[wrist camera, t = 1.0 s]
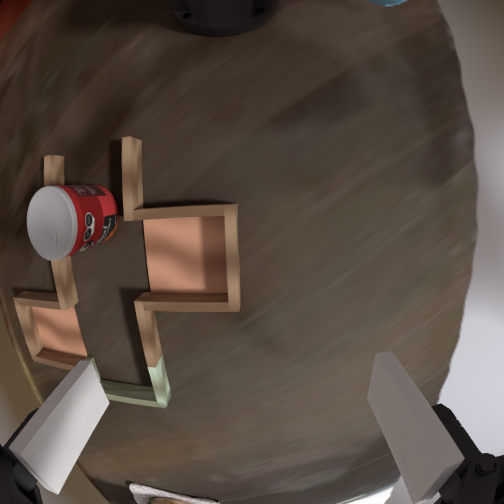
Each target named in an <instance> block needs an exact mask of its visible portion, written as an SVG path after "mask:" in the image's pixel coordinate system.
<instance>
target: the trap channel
mask: <svg viewBox="0 0 504 504" xmlns="http://www.w3.org/2000/svg"><path fill="white" fill-rule="evenodd" d="M53 185H64V156H55V155H48V156H44V187H46V186H53ZM122 188H123V208H124V221H134V220H143V222H144V235H145V246H146V256H147V265H148V274H149V282H150V289H151V292H143V293H142V294H141V295H140V296H139V297H138V298H137V299H136V300H135V301H134V304H135V309H136V315H137V320H138V325H139V330H140V335H141V340H142V344H143V349H144V353H145V358H146V362H147V366H148V370H149V374H150V378H151V381H152V385H153V387H146V386H139V385H131V384H124V383H118V382H112V381H106V380H101V378H100V376H99V373H98V370H97V367H96V364H95V361H94V358H93V357H90V356H88V355H87V352H86V349H85V346H84V342H83V339H82V335H81V332H80V328H79V324H78V320H77V316H76V312H75V308H74V305H75V304H76V303H78V297H77V292H76V287H75V282H74V276H73V270H72V264H71V258H70V256H68V257H66V258H63V259H61V260H56V261H51V264H52V270H53V275H54V281H55V286H56V290H57V293H45V292H32V291H24V292H22V293H20V294H18V295H16V296H15V297H13V299H14V303H15V307H16V310H17V314H18V317H19V321H20V324H21V327H22V330H23V333H24V336H25V339H26V342H27V345H28V348H29V351H30V353H31V356H32V359H33V361H36V362H39V363H43V364H46V365H50V366H54V367H58V368H62V369H66V370H70V371H71V370H72V369H73V368H74V367H75V366H76V365H77V363H78V362H79V361H80V360H81V361H88V362H92V364H93V366H94V369H95V371H96V374H97V376H98V379H99V381H100V383H101V386H102V388H103V390H104V392H105V395H106V397H107V399H110V400H115V401H121V402H127V403H132V404H139V405H146V406H153V407H161V408H166V407H167V405H168V402H169V399H170V397H171V391H170V387H169V382H168V378H167V374H166V369H165V365H164V360H163V355H162V350H161V345H160V340H159V334H158V329H157V323H156V317H155V311H181V312H239V310H240V302H241V298H240V274H239V247H238V218H237V203H228V204H204V205H185V206H169V207H154V208H143V187H142V141H141V140H139V139H136V138H134V137H131V136H130V137H124V138H122Z"/></svg>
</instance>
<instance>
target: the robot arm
mask: <svg viewBox="0 0 504 504" xmlns="http://www.w3.org/2000/svg"><path fill="white" fill-rule="evenodd" d="M278 1H279V0H170V3H171V8H172V11H173V13H174V15H175V17H176V19H177V21H178V22H179V23H180V24H181V25H182V26H183V27H184V28H186V29H188V30H190V31H192V32H195V33H198V34H202V35H208V36H229V35H235V34H240V33H244V32H247V31H250V30H252V29H255V28H257V27H259V26H260V25H262V24H264V23H265V22H266V21H268V20H269V19H270V18H271V17H272V16H273V14H274V13H275V11H276V9H277V6H278ZM367 1H369V2H372V3H374V4H377V5H380V6H393V5H398V4H401V3H403V2H405V1H407V0H367ZM367 400H368V402H369V404H370V406H371V408H372V410H373V412H374V415H375V417H376V419H377V421H378V423H379V425H380V428H381V430H382V432H383V434H384V436H385V439H386V441H387V443H388V445H389V448H390V450H391V452H392V454H393V457H394V459H395V461H396V464H397V466H398V468H399V471H400V473H401V475H402V478H403V480H404V483H405V485H406V487H407V490H408V492H409V495H410V497H411V500H412V502H413V504H420V503H422V502H424V501H427V500H429V499H431V498H433V496H434V495H435V494H436V493H437V492H438V491H439V493H440V495H441V497H440V498H439V499H438V500H437V501H436V502H435V503H434V504H504V455H502V456H498V457H495V456H494V455H492V454H488V453H481V452H480V451H479V450H478V448H477V446H476V445H475V444H474V442H473V441H472V439H471V438H470V436H469V435H468V433H467V432H466V431H465V429H464V428H463V427H462V426H461V424H460V423H459V421H458V420H457V419H456V417H455V415H454V414H453V413H452V411H451V410H450V409H449V408H447V407H446V406H444V405H443V404H437V405H434V406H432V407H431V406H430V405H429V403H428V402H427V400H426V399H425V397H424V396H423V394H422V393H421V392H420V390H419V389H418V387H417V386H416V385H415V383H414V382H413V380H412V379H411V378H410V376H409V375H408V373H407V372H406V371H405V369H404V368H403V367H402V365H401V364H400V362H399V361H398V360H397V358H396V357H395V356H394V354H393V353H392V352H391V351H386V352H381V353H376V354H375V360H374V366H373V371H372V376H371V381H370V386H369V391H368V395H367ZM108 405H109V401H108V399H107V397H106V395H105V392H104V390H103V388H102V386H101V383H100V381H99V379H98V376H97V374H96V371H95V369H94V366H93V364H92V362H88V361H81V360H80V361H79V362H78V363H77V365H76V366H75V367H74V368H73V369H72V370H71V371H70V373H69V374H68V375H67V376H66V377H65V378H64V379H63V381H62V382H61V383H60V384H59V385H58V387H57V388H56V389H55V390H54V391H53V392H52V394H51V395H50V396H49V397H48V398H47V400H46V401H45V402H44V403H43V404H42V406H41V407H40V408H37V409H36V410H34V411H33V412H31V413H30V414H29V415H28V416H27V418H26V419H25V420H24V422H22V424H21V425H20V427H18V429H17V430H16V431H15V432H14V434H13V435H12V436H11V438H10V439H9V440H8V442H7V443H6V444H5V445H4V446H3V447H2V446H1V444H0V504H43V502H42V498H41V494H40V490H39V488H38V486H37V485H36V483H37V481H39V482H40V483H41V484H42V485H43V486H44V487H45V488H46V489H48V490H50V491H52V492H54V493H56V494H59V492H60V490H61V488H62V486H63V484H64V482H65V480H66V479H67V477H68V475H69V473H70V471H71V469H72V468H73V466H74V464H75V462H76V460H77V458H78V457H79V455H80V453H81V451H82V450H83V448H84V446H85V444H86V442H87V441H88V439H89V437H90V435H91V434H92V432H93V430H94V429H95V427H96V425H97V423H98V422H99V420H100V418H101V417H102V415H103V413H104V411H105V410H106V408H107V406H108Z"/></svg>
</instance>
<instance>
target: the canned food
mask: <svg viewBox="0 0 504 504" xmlns="http://www.w3.org/2000/svg"><path fill="white" fill-rule="evenodd" d="M118 221H119V208H118V204H117V201H116V199H115V197H114V196H113V195H112V193H111V192H110V191H109V190H107V189H106V188H104V187H102V186H99V185H53V186H46V187H43V188H41V189H40V190H38V191H37V192H36V193H35V194H34V196H33V198H32V199H31V202H30V204H29V208H28V212H27V229H28V234H29V238H30V240H31V243H32V245H33V247H34V248H35V250H36V251H37V252H38V253H39V255H41V256H42V257H43V258H45V259H47V260H51V261H56V260H61V259H63V258H66V257H68V256H71V255H73V254H76V253H78V252H80V251H83V250H85V249H88V248H90V247H93V246H95V245H98V244H100V243H103V242H105V241H107V240H108V239H109V238H110V237H111V236H112V235H113V233H114V232H115V230H116V228H117V225H118Z"/></svg>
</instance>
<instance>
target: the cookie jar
mask: <svg viewBox="0 0 504 504" xmlns="http://www.w3.org/2000/svg"><path fill="white" fill-rule="evenodd" d="M129 489H130V490H131V492H132V493H133V495H134V499H135V500H136V502H137V503H138V504H220V503H218V502H215V501H213V500H210V499H205V498H193V497H190V496H187V495H182V494H177V493H172V492H168V491H163V490H159V489H155V488H152V487H149V486H145V485H142V484H138V483H131V484H130V485H129Z"/></svg>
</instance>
